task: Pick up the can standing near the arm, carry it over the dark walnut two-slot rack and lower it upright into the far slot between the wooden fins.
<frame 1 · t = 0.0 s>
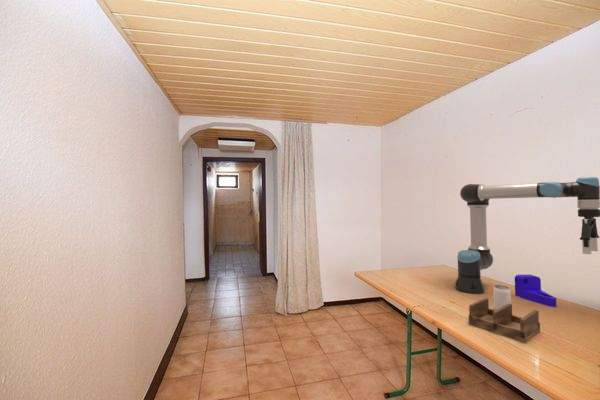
hand: (590, 252, 131), 28 cm above the table, fingers open, 13 cm apart
rack: (503, 327, 114), on the table
can: (502, 312, 130), on the table
bracket: (538, 301, 144), on the table
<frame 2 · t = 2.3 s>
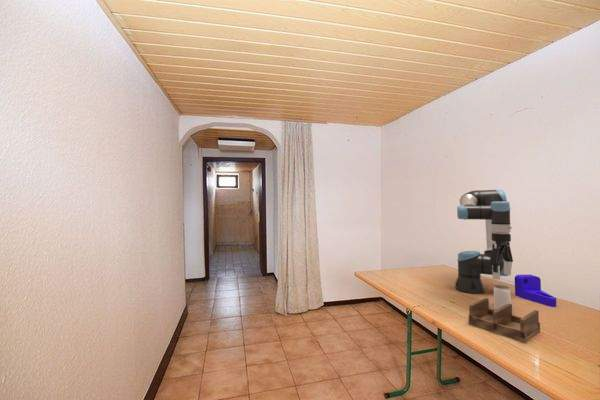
hand: (502, 276, 131), 17 cm above the table, fingers open, 13 cm apart
nothing on the table moved.
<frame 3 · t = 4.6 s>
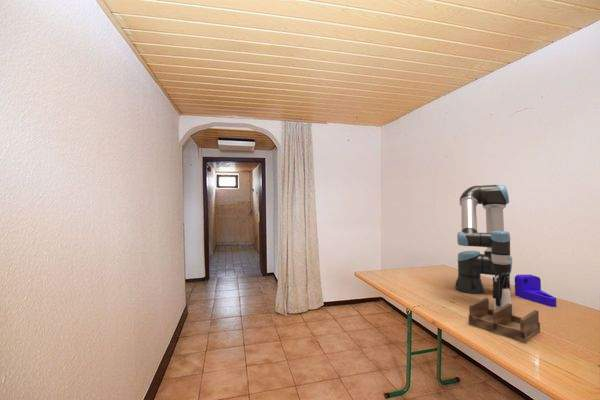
hand: (502, 310, 130), 0 cm above the table, fingers closed on can, 6 cm apart
can: (502, 312, 130), on the table, touching gripper
everything else where it was.
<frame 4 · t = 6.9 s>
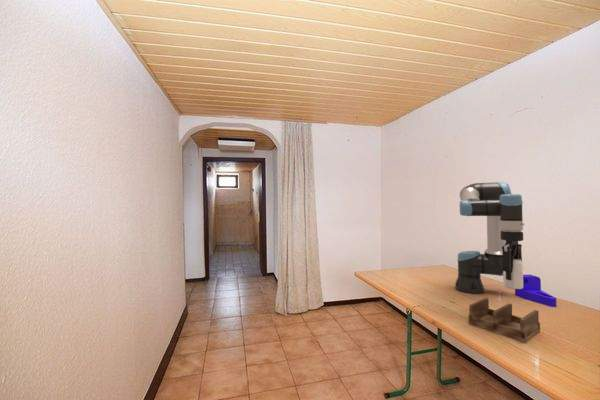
hand: (513, 286, 112), 18 cm above the table, fingers closed on can, 6 cm apart
can: (513, 287, 112), point 17 cm above the table, touching gripper
everything else where it was.
when the fingers open (3 cm above the table, at t = 9.5 s): can drops 1 cm, resting on rack.
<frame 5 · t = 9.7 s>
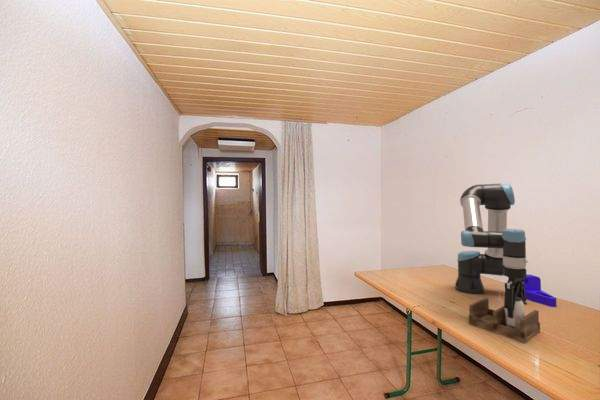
hand: (516, 322, 110), 4 cm above the table, fingers open, 8 cm apart
can: (516, 328, 110), point 1 cm above the table, touching rack
everything else where it was.
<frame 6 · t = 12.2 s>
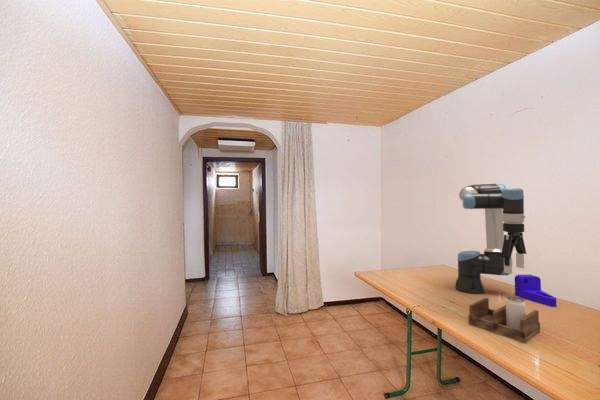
hand: (514, 270, 121), 22 cm above the table, fingers open, 13 cm apart
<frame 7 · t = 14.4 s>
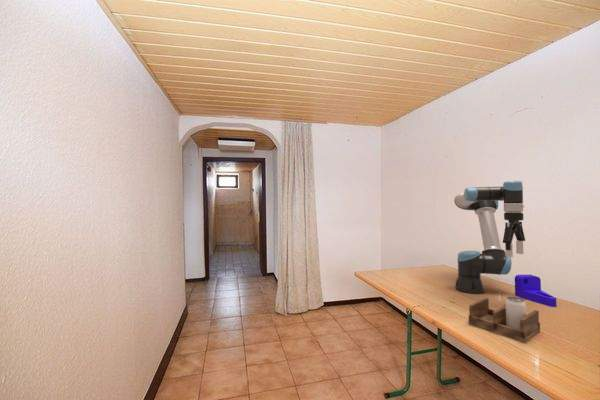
hand: (514, 255, 133), 27 cm above the table, fingers open, 13 cm apart
nothing on the table moved.
at the end: can inside the target area on the rack (0.1 cm from its centre), point 1.0 cm above the rack's base; can tilted 0°; the gripper is holding nothing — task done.
